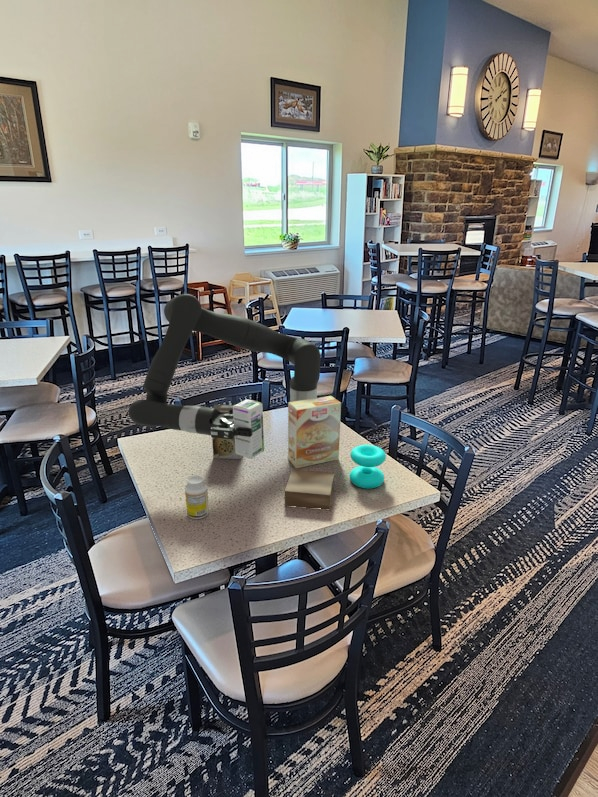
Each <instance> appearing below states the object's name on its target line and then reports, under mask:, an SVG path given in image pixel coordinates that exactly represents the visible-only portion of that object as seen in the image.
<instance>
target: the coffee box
mask: <svg viewBox="0 0 598 797" xmlns="http://www.w3.org/2000/svg"><path fill="white" fill-rule="evenodd" d="M234 405H235V404H214V405H213V407H212V408H217V409H218V410H219V412H220V413H221V414H229V410H230V409H233V406H234ZM224 434H225V433H224ZM225 435H227V434H225ZM211 441H212V454H213V459H224V460H225V459H232V460H241V459H242V457H243V456H240V455H238V454H236V452H235V437H234V436H233V439H223V438H213V437H211Z"/></svg>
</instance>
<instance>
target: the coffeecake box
mask: <svg viewBox="0 0 598 797" xmlns="http://www.w3.org/2000/svg"><path fill="white" fill-rule="evenodd" d="M287 403H288V404H287V412H288V413H287V419H288V420H287V421H288V422H287V460H288V461H289V462H290V463H291V464H292V466H293V467H294V468H295V469H301V468H305V467H309V466H313V465H317V464H322V463H327V462H328V463H329V462H331V461H332V462H333V461H337V460H339V459H340V456H339V455H340V432H341V415H342V414H341V412H342V409H341V408H342V402H341V401H339V400H338V399H336V398H335V397H334V396H332V395H328V396H320V397H317V398H313V399H307V400H300V401H294V402H290V401H289V402H287Z"/></svg>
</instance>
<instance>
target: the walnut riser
mask: <svg viewBox="0 0 598 797" xmlns="http://www.w3.org/2000/svg"><path fill="white" fill-rule="evenodd" d="M286 483H287V484H286V486H285V489H284V507H289V506H296V507H295V508H299V507H306V508H305V509H310V508H321V509H330V510H331V504H332V500H333V493H334V488H335V472H334V471H323V470H322V471H320V470H313V469H312V470H310V469H301V468H292V469H291V472H290V475H289V477H288V481H287V482H286ZM331 499H332V500H331Z"/></svg>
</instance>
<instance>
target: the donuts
mask: <svg viewBox="0 0 598 797" xmlns="http://www.w3.org/2000/svg"><path fill="white" fill-rule="evenodd" d="M386 458H387V453H386V452H385V450H384V449H382V448H381V447H379V446H377V445H373V444H359V445H357V446H355V447H353V448H352V450H351V451H350V459H351V460H352V461H353V462H354V463H355V464H356V465H358V466H355V467H353V469H352V470H351V471H350V473H349V480H350V482H351V483H352V484H353V485H355V486H356V487H358V488H362V489H368V490H369V489H376V488H378V487H380V486H382V485H383V483H384V481H385V474H384V472H383V471H382V470H381V469H380V468H378V466H381V465H382V464H383V463H385V461H386Z"/></svg>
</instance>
